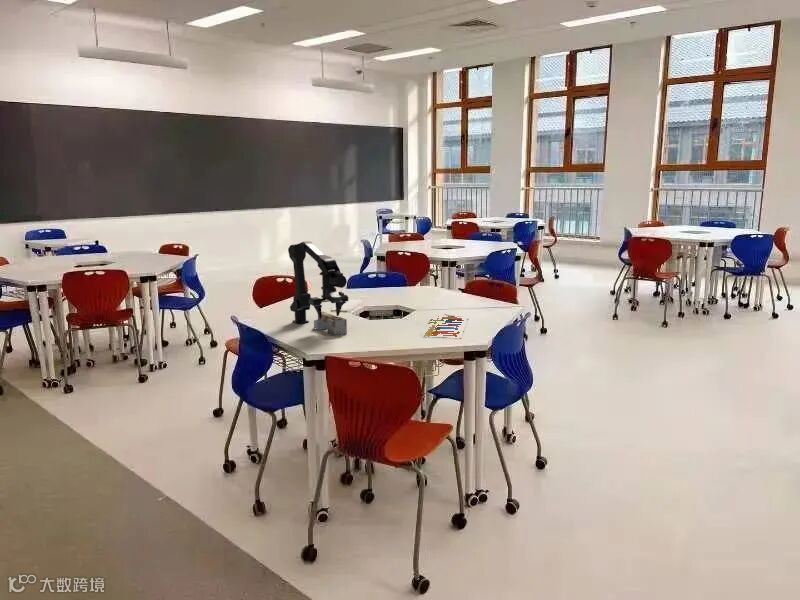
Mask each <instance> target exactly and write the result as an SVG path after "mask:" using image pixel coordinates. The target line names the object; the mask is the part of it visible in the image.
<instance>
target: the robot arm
mask: <svg viewBox="0 0 800 600" xmlns="http://www.w3.org/2000/svg"><path fill="white" fill-rule="evenodd" d="M287 251H288V256H289V259H290V260H291V262H292V263H293V275H294V282H295V283H294V284H295V285H294V286H295V292H294V295H293V302H292V303H291V304H290V306H289V309H290V311H291V312H293V313H294V320H292V321H293V322H292V323H294V322H295V323H294V324H296V323H297V325H300V324H299V323H301V324H307V323H310V321H309V320H307V311H310V309H311V306H313V307H314V309H315V311H316V313H317V317H318V316H319V318H320V319H321V318H322V314H321V312H322V307H323V305H322V304H323V303H328V302H330V303H331V304H335V307H336V312H335V314H336V317H340V313H341V312H340V310H341V307H342V305H343V304H344V303H346V301H348V299H349V296H348V295H347V294H345V292H344V291H337V288H340V289H343V288H345V287H346V285H347V283H348V281H347V278H346V277H345V276H344V272H341V269H340V268H339V266H338V264H337V263H338V262H337V261H336V260H335V258H333V257H331V256H329V255H326V254H324V253H323V252H322V251H321V250H319V249H318V247H316V246H315V245H314V244H313V242H312V241H308V240H307V241H301V242H300V243H296V244H290V245H289V247H287ZM307 254H308V255H309V256H310V257H311V258H312V259H313V260H314V261H315V262H316V263H317V267H318V268H319V270H320V273H319V276H321V280H322V282H321V283H322V285H321V287H320V288H321V291H322V295H321V298H319V297H318V296H317V297H316V296H315V297H312V296H311V293H309V292H308V291H307V288H306V287H307V286H306V275H305V265H304V262H305V259H306V257H307ZM306 322H307V323H306Z"/></svg>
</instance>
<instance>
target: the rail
mask: <svg viewBox="0 0 800 600" xmlns="http://www.w3.org/2000/svg"><path fill="white" fill-rule="evenodd" d="M321 314H322V318H321V319H320V318H319V316H318V315H317V320H318V319H319V320H321V321H323V322H326V323H327V319H331V320H334V321H335V320H341V318H342V317H341V318H339V317H340V316H337V315H334V314H331V313H328V312H325V311H321Z"/></svg>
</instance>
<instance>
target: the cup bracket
mask: <svg viewBox="0 0 800 600" xmlns="http://www.w3.org/2000/svg"><path fill="white" fill-rule="evenodd" d="M338 317H339V318H341V320H335V321H334V320H331V319H327V328H326V329H327V335H330V334H331V335H330V336H332V335H333V337H337V336H342V335H341V334H343V335H347V334H348V330H347V329H348V327H347V326H348V324H347V321H348V320H347V318H344V317H341V316H338ZM336 335H337V336H336Z"/></svg>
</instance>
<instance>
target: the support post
mask: <svg viewBox="0 0 800 600" xmlns="http://www.w3.org/2000/svg"><path fill="white" fill-rule="evenodd" d="M315 328H316V330H317V329H319V330H324V329H323V328H326V329H327V323H326V322H323V321H321V320H319V319H318V318H317V319H313V329H315Z"/></svg>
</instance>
